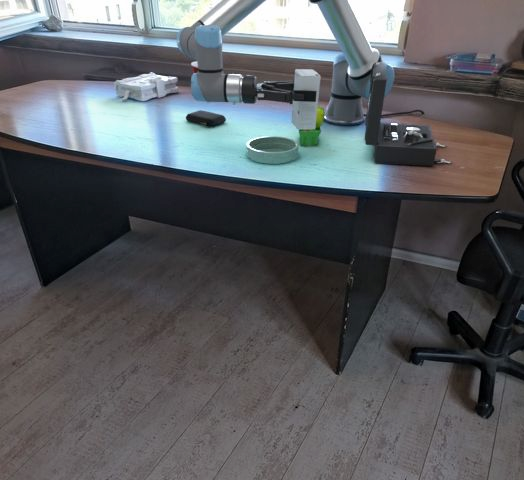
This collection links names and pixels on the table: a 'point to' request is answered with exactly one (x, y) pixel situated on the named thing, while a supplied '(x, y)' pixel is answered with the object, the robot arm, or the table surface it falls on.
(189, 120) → the carrying case
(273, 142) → the bowl
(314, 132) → the fruit basket
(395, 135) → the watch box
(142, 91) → the white irregular flat block
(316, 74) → the cosmetic box
